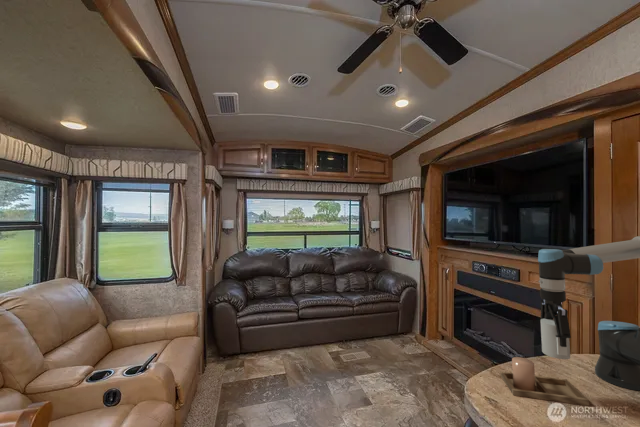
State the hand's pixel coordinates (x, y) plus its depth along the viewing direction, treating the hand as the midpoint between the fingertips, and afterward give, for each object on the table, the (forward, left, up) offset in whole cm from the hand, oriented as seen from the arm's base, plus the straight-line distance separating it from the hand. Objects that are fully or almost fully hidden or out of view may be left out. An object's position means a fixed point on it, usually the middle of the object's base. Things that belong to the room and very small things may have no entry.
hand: (555, 349), depth 103 cm
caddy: (+5, 0, -17) cm, 17 cm away
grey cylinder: (0, 0, -2) cm, 2 cm away
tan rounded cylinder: (+11, 0, -16) cm, 19 cm away
